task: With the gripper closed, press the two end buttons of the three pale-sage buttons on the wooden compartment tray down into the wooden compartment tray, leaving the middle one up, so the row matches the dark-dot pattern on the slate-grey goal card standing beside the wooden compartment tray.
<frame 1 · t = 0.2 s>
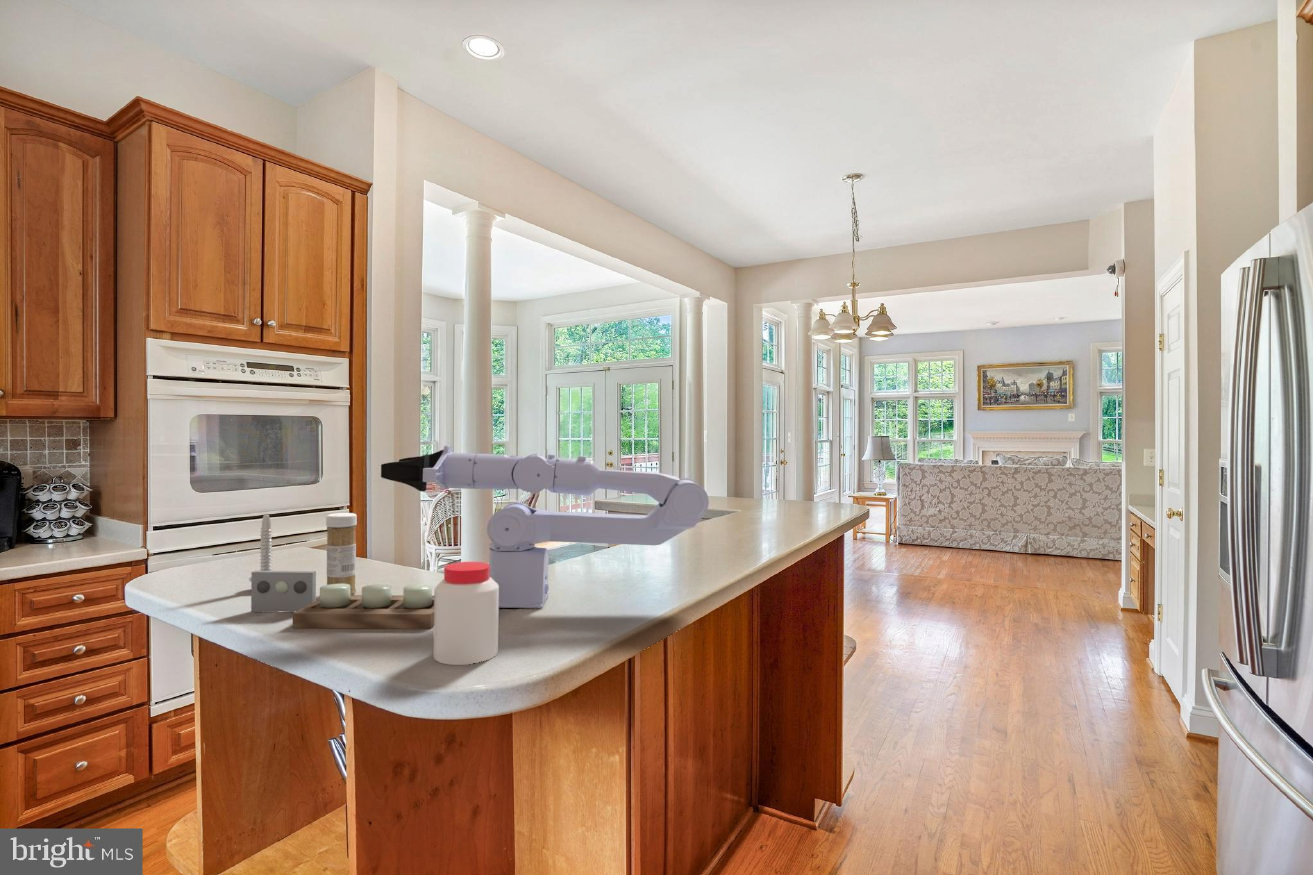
hand: (390, 468, 103), 21 cm above the countertop, tool horizontal, fingers open, 7 cm apart
screw: (265, 590, 110), on the countertop
sprinkles bottle: (340, 595, 107), on the countertop
pill bottle: (466, 655, 80), on the countertop
button 1: (335, 595, 94), point 3 cm above the countertop, slide at 0.0 cm
goal card: (283, 611, 97), on the countertop
button 2: (417, 595, 95), point 3 cm above the countertop, slide at 0.0 cm
button mid: (376, 595, 94), point 3 cm above the countertop, slide at 0.0 cm
wooden compartment tray: (376, 617, 94), on the countertop
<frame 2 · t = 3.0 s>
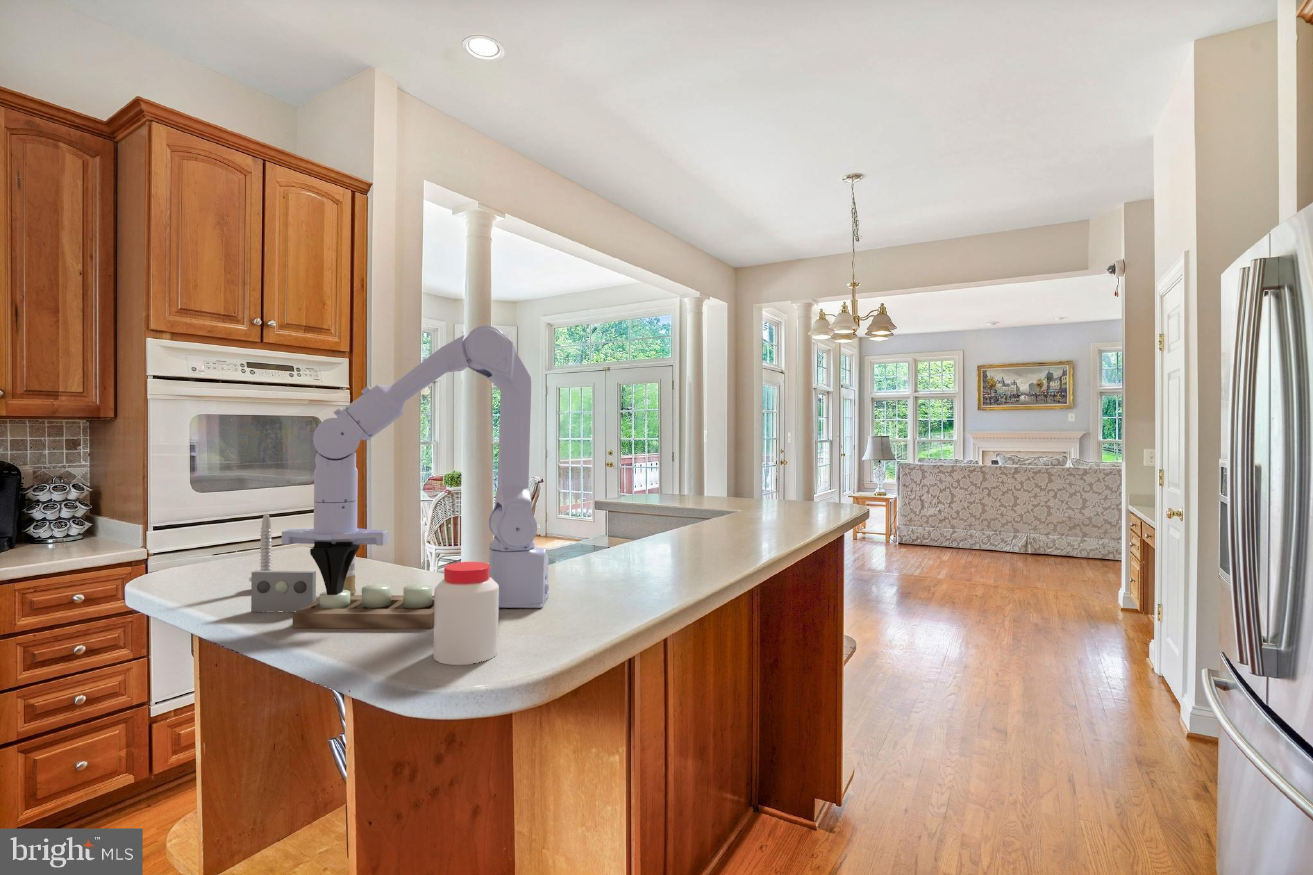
hand: (334, 593, 94), 4 cm above the countertop, tool pointing down, fingers closed, pressing on button 1
button 1: (335, 601, 94), point 2 cm above the countertop, slide at 0.9 cm, touching gripper
everything else where it was.
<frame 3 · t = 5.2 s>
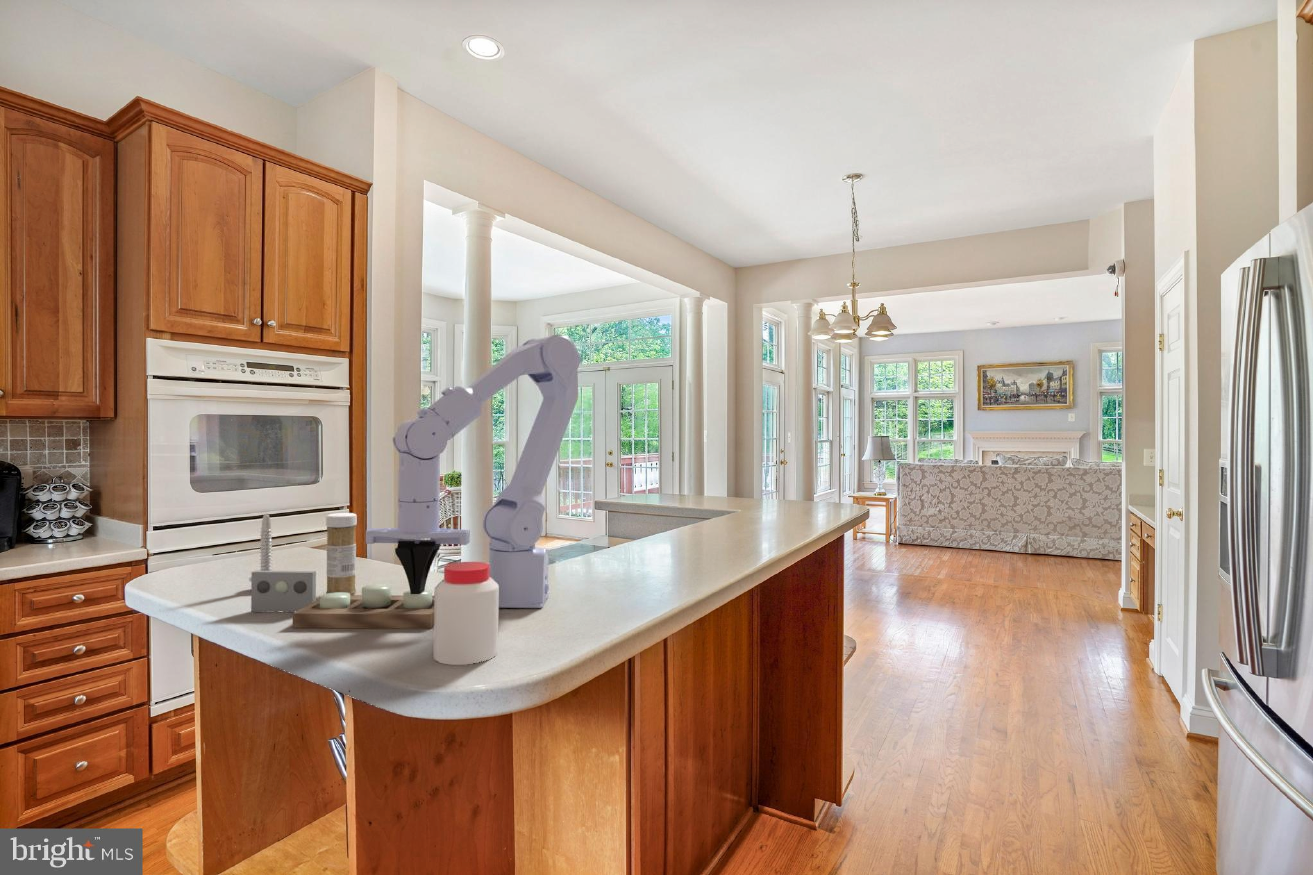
hand: (417, 592, 95), 4 cm above the countertop, tool pointing down, fingers closed, pressing on button 2
button 1: (335, 604, 94), point 2 cm above the countertop, slide at 1.3 cm
button 2: (417, 600, 95), point 3 cm above the countertop, slide at 0.7 cm, touching gripper
everything else where it was.
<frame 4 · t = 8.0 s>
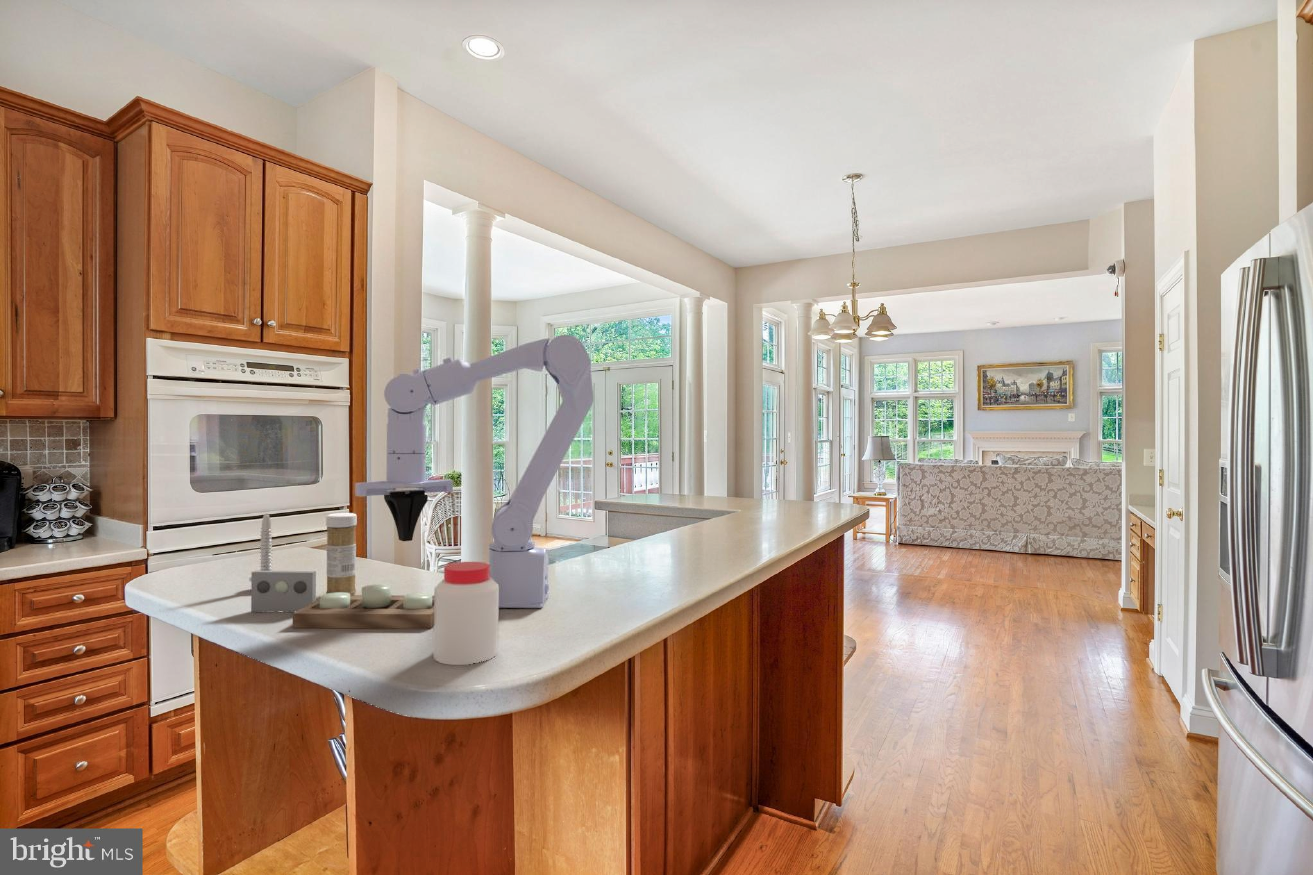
hand: (405, 540, 100), 10 cm above the countertop, tool pointing down, fingers closed
button 2: (417, 604, 95), point 2 cm above the countertop, slide at 1.3 cm
everything else where it was.
at the end: button 1 slide at 1.3 cm; button 2 slide at 1.3 cm; button mid slide at 0.0 cm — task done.
